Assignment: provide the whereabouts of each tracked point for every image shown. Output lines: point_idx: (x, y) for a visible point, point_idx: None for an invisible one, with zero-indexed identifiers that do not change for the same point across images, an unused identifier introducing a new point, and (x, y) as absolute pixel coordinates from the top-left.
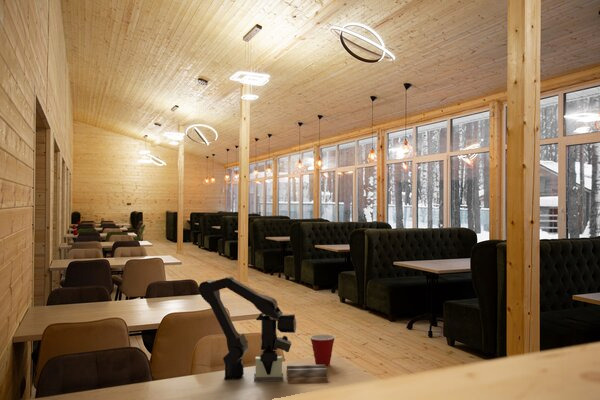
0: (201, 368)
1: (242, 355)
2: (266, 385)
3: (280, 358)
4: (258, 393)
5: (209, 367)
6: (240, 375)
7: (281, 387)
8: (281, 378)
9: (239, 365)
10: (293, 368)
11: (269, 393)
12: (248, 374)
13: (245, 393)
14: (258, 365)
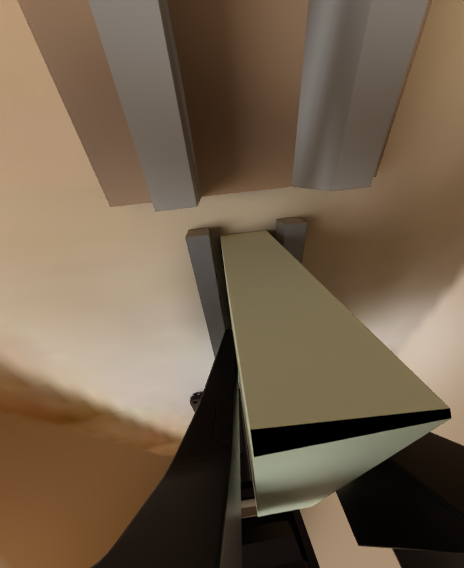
0: (165, 454)
1: (300, 553)
2: (341, 302)
3: (416, 421)
4: (419, 315)
5: (151, 449)
6: (240, 399)
7: (409, 220)
8: (301, 236)
9: (248, 454)
10: (175, 65)
11: (450, 275)
12: (192, 379)
13: (391, 350)
14: (291, 425)
